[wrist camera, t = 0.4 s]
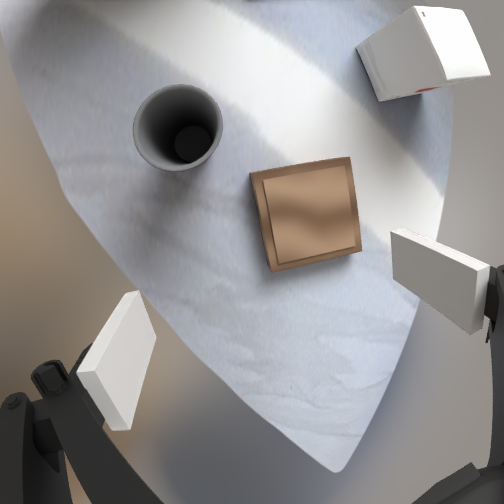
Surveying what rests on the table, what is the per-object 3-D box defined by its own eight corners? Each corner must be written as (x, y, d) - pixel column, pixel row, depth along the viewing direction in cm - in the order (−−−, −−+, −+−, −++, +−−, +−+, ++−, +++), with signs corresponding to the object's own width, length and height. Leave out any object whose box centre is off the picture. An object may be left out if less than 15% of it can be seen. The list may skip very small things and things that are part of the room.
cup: (231, 153, 36) (239, 142, 22) (182, 181, 36) (159, 188, 22) (204, 107, 34) (195, 68, 20) (155, 135, 34) (118, 115, 20)
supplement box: (377, 103, 36) (446, 82, 22) (354, 46, 34) (410, 3, 19) (423, 94, 36) (493, 77, 22) (402, 41, 34) (463, 8, 19)
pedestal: (249, 172, 37) (252, 173, 34) (340, 157, 38) (350, 156, 34) (267, 265, 40) (272, 273, 37) (352, 245, 41) (363, 251, 38)
